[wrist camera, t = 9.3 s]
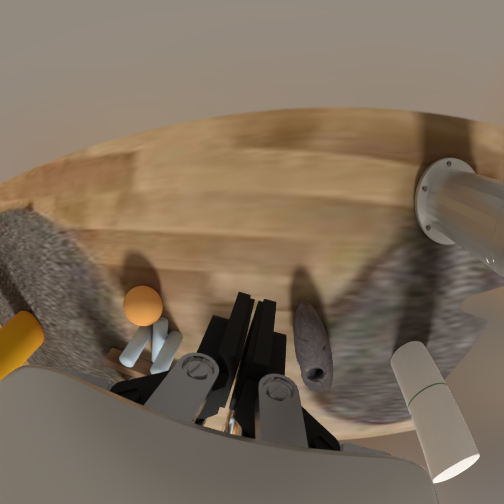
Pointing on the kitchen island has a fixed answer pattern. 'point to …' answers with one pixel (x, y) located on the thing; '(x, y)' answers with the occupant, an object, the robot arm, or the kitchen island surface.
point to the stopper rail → (136, 371)
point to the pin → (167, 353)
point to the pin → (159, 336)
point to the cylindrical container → (433, 413)
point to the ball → (142, 305)
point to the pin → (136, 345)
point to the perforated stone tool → (312, 348)
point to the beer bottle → (18, 341)
